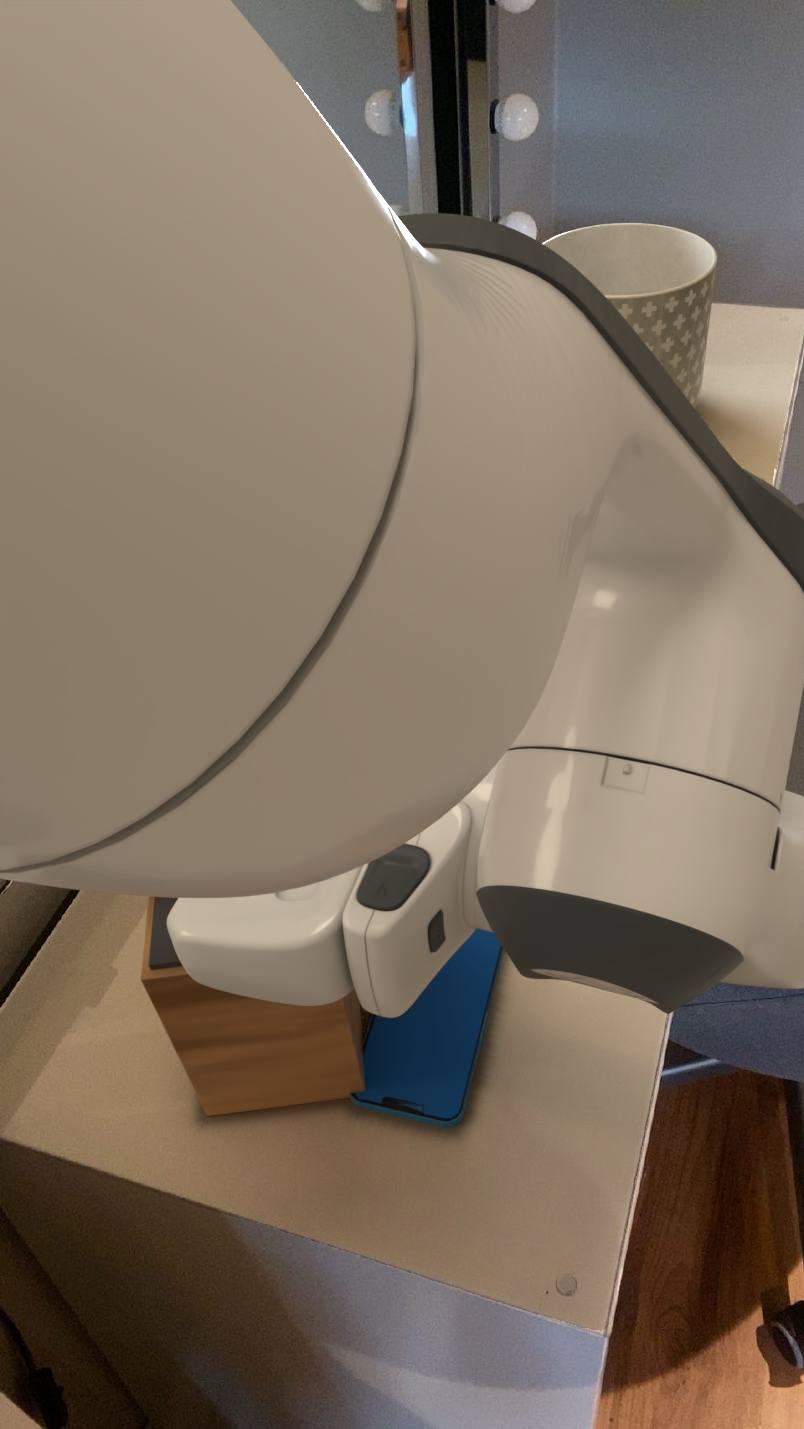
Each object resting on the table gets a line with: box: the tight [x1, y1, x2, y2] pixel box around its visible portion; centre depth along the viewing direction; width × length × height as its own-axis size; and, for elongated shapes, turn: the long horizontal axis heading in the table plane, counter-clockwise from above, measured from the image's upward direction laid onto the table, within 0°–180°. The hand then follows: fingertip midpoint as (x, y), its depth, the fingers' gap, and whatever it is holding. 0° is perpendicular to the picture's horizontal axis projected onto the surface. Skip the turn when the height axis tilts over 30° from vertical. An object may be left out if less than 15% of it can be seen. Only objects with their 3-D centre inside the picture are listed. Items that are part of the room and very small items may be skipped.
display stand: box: [140, 896, 365, 1117], centre depth 63 cm, size 10×10×16 cm
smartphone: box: [350, 928, 505, 1129], centre depth 69 cm, size 7×1×15 cm
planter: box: [542, 222, 718, 409], centre depth 114 cm, size 19×19×18 cm
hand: (180, 759), depth 51 cm, fingers open, 8 cm apart
